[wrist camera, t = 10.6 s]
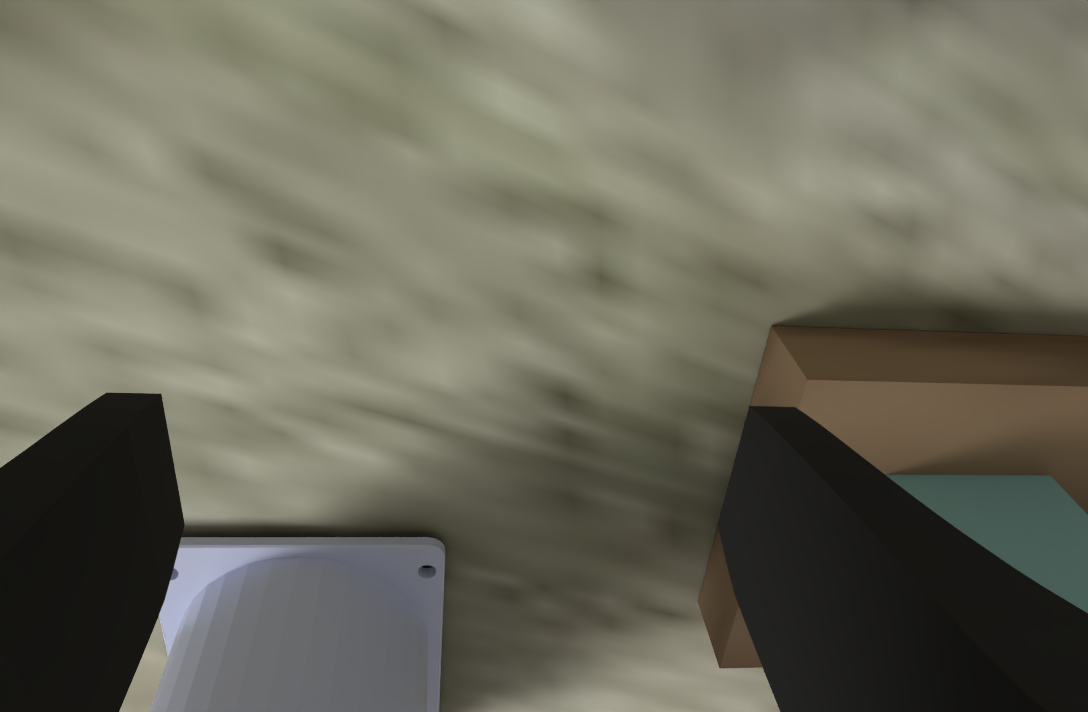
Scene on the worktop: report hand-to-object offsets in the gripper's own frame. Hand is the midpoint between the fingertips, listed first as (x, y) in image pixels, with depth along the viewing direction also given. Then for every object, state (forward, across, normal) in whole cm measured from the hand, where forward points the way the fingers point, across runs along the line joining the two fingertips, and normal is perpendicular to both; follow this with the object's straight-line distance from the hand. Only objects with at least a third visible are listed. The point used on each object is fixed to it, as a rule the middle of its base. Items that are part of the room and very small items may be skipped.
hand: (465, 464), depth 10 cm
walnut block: (+9, -13, +8) cm, 18 cm away
